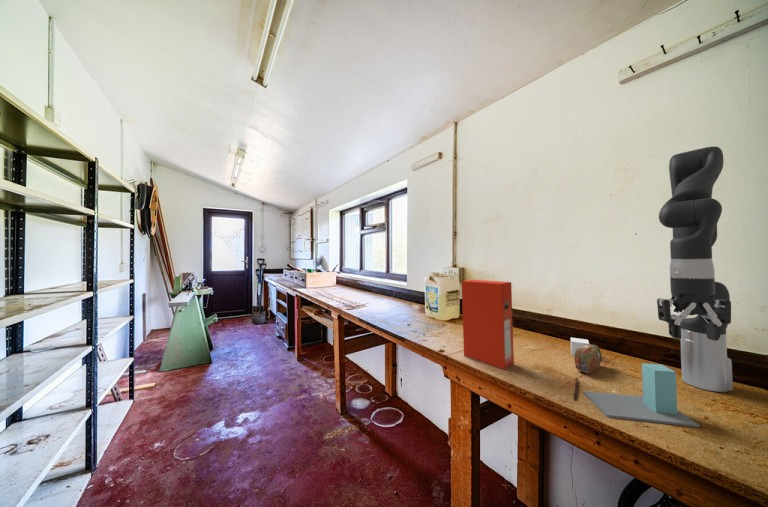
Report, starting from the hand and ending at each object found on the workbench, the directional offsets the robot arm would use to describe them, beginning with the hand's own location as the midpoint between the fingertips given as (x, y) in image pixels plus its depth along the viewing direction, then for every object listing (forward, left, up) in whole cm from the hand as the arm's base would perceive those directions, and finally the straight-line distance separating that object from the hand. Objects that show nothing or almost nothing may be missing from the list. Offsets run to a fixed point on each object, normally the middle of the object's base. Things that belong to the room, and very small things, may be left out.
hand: (694, 338), depth 67 cm
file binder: (+47, -27, -20) cm, 58 cm away
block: (+8, 0, -19) cm, 21 cm away
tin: (+13, -25, -20) cm, 35 cm away
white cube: (+9, -40, -20) cm, 46 cm away
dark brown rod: (+24, -8, -20) cm, 33 cm away
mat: (+14, 0, -20) cm, 24 cm away
